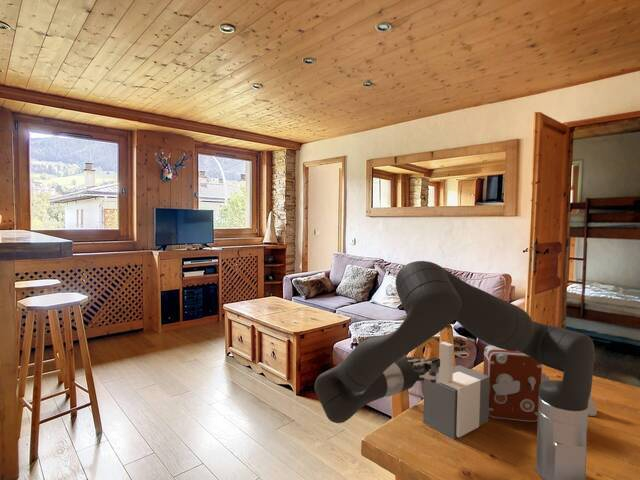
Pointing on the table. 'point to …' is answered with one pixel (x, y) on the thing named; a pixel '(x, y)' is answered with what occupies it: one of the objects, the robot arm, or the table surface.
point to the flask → (591, 407)
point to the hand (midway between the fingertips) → (437, 361)
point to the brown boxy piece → (513, 384)
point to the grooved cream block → (460, 391)
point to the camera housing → (451, 403)
